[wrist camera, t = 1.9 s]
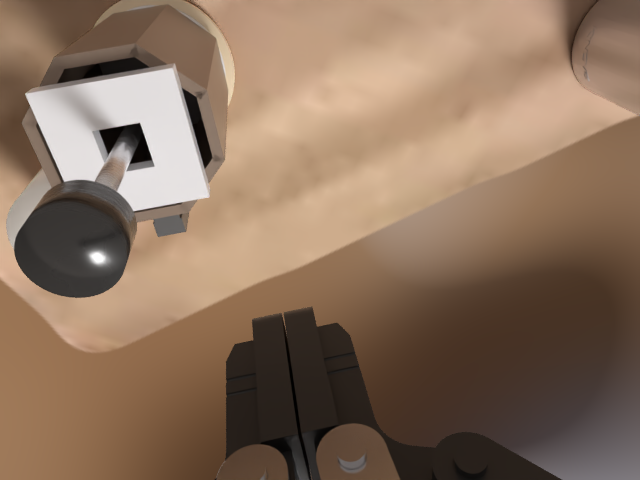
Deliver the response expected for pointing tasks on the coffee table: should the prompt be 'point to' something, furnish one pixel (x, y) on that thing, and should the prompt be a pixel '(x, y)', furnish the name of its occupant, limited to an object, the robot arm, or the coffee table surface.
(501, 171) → the coffee table surface
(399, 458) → the robot arm
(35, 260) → the plunger
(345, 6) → the coffee table surface
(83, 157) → the carafe
